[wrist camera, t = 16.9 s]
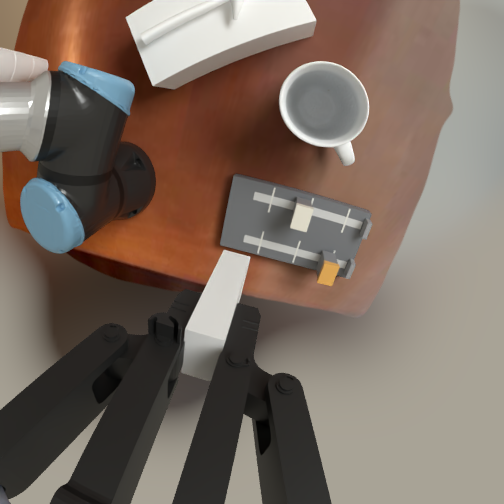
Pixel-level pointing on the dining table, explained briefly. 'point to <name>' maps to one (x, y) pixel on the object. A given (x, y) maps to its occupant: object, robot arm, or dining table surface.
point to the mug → (325, 106)
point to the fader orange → (327, 268)
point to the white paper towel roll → (20, 66)
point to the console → (279, 219)
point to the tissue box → (212, 34)
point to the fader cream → (301, 214)
